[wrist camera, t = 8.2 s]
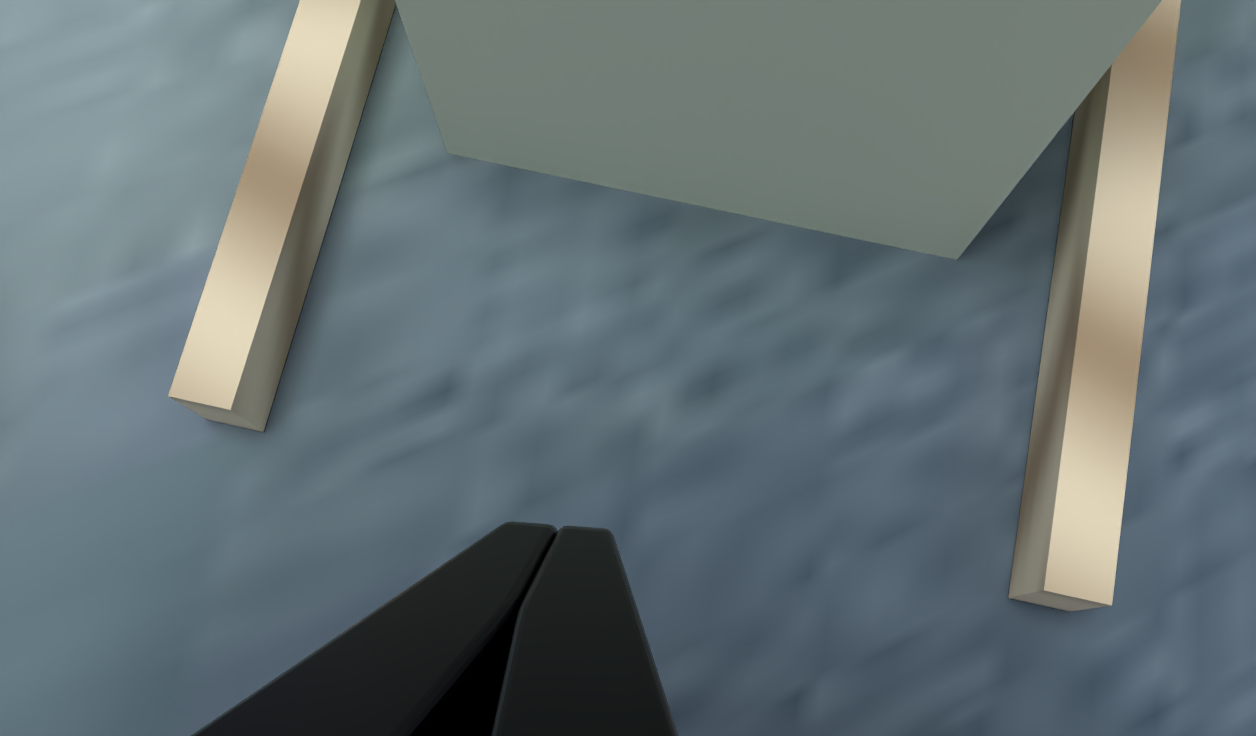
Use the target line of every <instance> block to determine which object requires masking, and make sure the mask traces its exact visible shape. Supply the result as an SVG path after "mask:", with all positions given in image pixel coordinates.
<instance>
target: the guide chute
mask: <svg viewBox="0 0 1256 736" xmlns="http://www.w3.org/2000/svg"><path fill="white" fill-rule="evenodd" d="M395 5H396V2H395V0H300V2H299V5H298V8H297V11H296V14H295V17H294V20H293V23H292V26H291V29H290V32H289V35H288V38H287V41H286V44H285V47H284V50H283V53H282V56H281V59H280V62H279V65H278V68H277V71H276V74H275V77H274V80H273V83H272V86H271V89H270V92H269V95H268V98H267V101H266V104H265V107H264V110H263V113H262V116H261V119H260V122H259V125H258V128H257V131H256V134H255V137H254V140H253V143H252V146H251V149H250V152H249V155H248V158H247V161H246V164H245V167H244V170H243V173H242V176H241V179H240V182H239V185H238V188H237V191H236V194H235V197H234V200H233V203H232V206H231V209H230V212H229V215H228V218H227V221H226V224H225V227H224V230H223V233H222V236H221V239H220V242H219V245H218V248H217V251H216V254H215V257H214V260H213V263H212V266H211V269H210V272H209V275H208V278H207V281H206V284H205V287H204V290H203V293H202V296H201V299H200V302H199V305H198V308H197V311H196V314H195V317H194V320H193V323H192V326H191V329H190V332H189V335H188V338H187V341H186V344H185V347H184V350H183V353H182V356H181V359H180V362H179V365H178V368H177V371H176V374H175V377H174V380H173V383H172V386H171V389H170V392H169V395H168V396H169V397H171V398H172V399H174V400H175V401H177V402H179V403H180V404H182V405H184V406H185V407H187V408H189V409H190V410H192V411H193V412H195V413H197V414H198V415H200V416H202V417H203V418H205V419H207V420H212V421H216V422H221V423H225V424H230V425H234V426H238V427H243V428H247V429H252V430H256V431H261V432H264V429H265V426H266V422H267V419H268V416H269V413H270V409H271V406H272V403H273V400H274V396H275V393H276V390H277V387H278V384H279V380H280V377H281V374H282V371H283V367H284V364H285V361H286V358H287V354H288V351H289V348H290V345H291V341H292V338H293V335H294V332H295V329H296V325H297V322H298V319H299V316H300V312H301V309H302V306H303V303H304V299H305V296H306V293H307V290H308V287H309V283H310V280H311V277H312V274H313V270H314V267H315V264H316V261H317V257H318V254H319V251H320V248H321V244H322V241H323V238H324V235H325V232H326V228H327V225H328V222H329V219H330V215H331V212H332V209H333V206H334V202H335V199H336V196H337V193H338V190H339V186H340V183H341V180H342V177H343V173H344V170H345V167H346V164H347V160H348V157H349V154H350V151H351V147H352V144H353V141H354V138H355V135H356V131H357V128H358V125H359V122H360V118H361V115H362V112H363V109H364V105H365V102H366V99H367V96H368V93H369V89H370V86H371V83H372V80H373V76H374V73H375V70H376V67H377V63H378V60H379V57H380V54H381V50H382V47H383V44H384V41H385V38H386V34H387V31H388V28H389V25H390V21H391V18H392V15H393V12H394V8H395ZM1180 5H1181V0H1162V1H1161V3H1160V4H1159V5H1158V6H1157V8H1156V9H1155V10H1154V11H1153V13H1152V14H1151V15H1150V16H1149V18H1148V19H1147V20H1146V22H1145V23H1144V24H1143V25H1142V27H1141V28H1140V29H1139V30H1138V32H1137V33H1136V34H1135V35H1134V37H1133V38H1132V39H1131V41H1130V42H1129V43H1128V44H1127V46H1126V47H1125V48H1124V49H1123V51H1122V52H1121V53H1120V54H1119V56H1118V57H1117V58H1116V59H1115V61H1114V62H1113V63H1112V65H1111V66H1110V67H1109V68H1108V70H1107V71H1106V72H1105V73H1104V75H1103V76H1102V77H1101V78H1100V80H1099V81H1098V82H1097V84H1096V85H1095V86H1094V87H1093V89H1092V90H1091V91H1090V92H1089V94H1088V95H1087V96H1086V97H1085V99H1084V100H1083V101H1082V103H1081V104H1080V105H1079V106H1078V108H1077V109H1076V110H1075V114H1074V121H1073V129H1072V136H1071V143H1070V151H1069V158H1068V165H1067V172H1066V180H1065V187H1064V194H1063V202H1062V209H1061V216H1060V224H1059V231H1058V238H1057V245H1056V253H1055V260H1054V267H1053V275H1052V282H1051V289H1050V297H1049V304H1048V311H1047V318H1046V326H1045V333H1044V340H1043V348H1042V355H1041V362H1040V370H1039V377H1038V384H1037V391H1036V399H1035V406H1034V413H1033V421H1032V428H1031V435H1030V443H1029V450H1028V457H1027V465H1026V472H1025V479H1024V486H1023V494H1022V501H1021V508H1020V516H1019V523H1018V530H1017V538H1016V545H1015V552H1014V559H1013V567H1012V574H1011V581H1010V589H1009V596H1008V598H1011V599H1016V600H1020V601H1025V602H1029V603H1034V604H1038V605H1043V606H1047V607H1052V608H1056V609H1061V610H1065V611H1070V612H1071V611H1078V610H1085V609H1091V608H1098V607H1105V606H1111V605H1112V600H1113V591H1114V583H1115V574H1116V565H1117V556H1118V548H1119V539H1120V530H1121V521H1122V513H1123V504H1124V495H1125V486H1126V478H1127V469H1128V460H1129V451H1130V443H1131V434H1132V425H1133V416H1134V408H1135V399H1136V390H1137V381H1138V373H1139V364H1140V355H1141V346H1142V338H1143V329H1144V320H1145V311H1146V303H1147V294H1148V285H1149V276H1150V268H1151V259H1152V250H1153V241H1154V233H1155V224H1156V215H1157V207H1158V198H1159V189H1160V180H1161V172H1162V163H1163V154H1164V145H1165V137H1166V128H1167V119H1168V110H1169V102H1170V93H1171V84H1172V75H1173V67H1174V58H1175V49H1176V40H1177V32H1178V23H1179V14H1180Z"/></svg>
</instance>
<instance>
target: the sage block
mask: <svg viewBox="0 0 1256 736" xmlns="http://www.w3.org/2000/svg"><path fill="white" fill-rule="evenodd" d="M1161 1H1162V0H395V2H396V5H397V8H398V11H399V14H400V17H401V19H402V22H403V25H404V28H405V31H406V34H407V37H408V40H409V43H410V46H411V48H412V51H413V54H414V57H415V60H416V63H417V66H418V69H419V72H420V75H421V77H422V80H423V83H424V86H425V89H426V92H427V95H428V98H429V101H430V104H431V106H432V109H433V112H434V115H435V118H436V121H437V124H438V127H439V130H440V133H441V136H442V138H443V141H444V144H445V147H446V150H447V153H448V154H453V155H458V156H462V157H467V158H472V159H477V160H481V161H486V162H491V163H496V164H501V165H505V166H510V167H515V168H520V169H524V170H529V171H534V172H539V173H544V174H548V175H553V176H558V177H563V178H568V179H572V180H577V181H582V182H587V183H591V184H596V185H601V186H606V187H611V188H615V189H620V190H625V191H630V192H634V193H639V194H644V195H649V196H654V197H658V198H663V199H668V200H673V201H677V202H682V203H687V204H692V205H697V206H701V207H706V208H711V209H716V210H720V211H725V212H730V213H735V214H740V215H744V216H749V217H754V218H759V219H763V220H768V221H773V222H778V223H783V224H787V225H792V226H797V227H802V228H806V229H811V230H816V231H821V232H826V233H830V234H835V235H840V236H845V237H850V238H854V239H859V240H864V241H869V242H873V243H878V244H883V245H888V246H893V247H897V248H902V249H907V250H912V251H916V252H921V253H926V254H931V255H936V256H940V257H945V258H950V259H955V260H957V259H958V258H959V257H960V256H961V254H962V253H963V252H964V251H965V249H966V248H967V247H968V246H969V244H970V243H971V242H972V240H973V239H974V238H975V237H976V235H977V234H978V233H979V232H980V230H981V229H982V228H983V227H984V225H985V224H986V223H987V222H988V220H989V219H990V218H991V216H992V215H993V214H994V213H995V211H996V210H997V209H998V208H999V206H1000V205H1001V204H1002V203H1003V201H1004V200H1005V199H1006V197H1007V196H1008V195H1009V194H1010V192H1011V191H1012V190H1013V189H1014V187H1015V186H1016V185H1017V184H1018V182H1019V181H1020V180H1021V178H1022V177H1023V176H1024V175H1025V173H1026V172H1027V171H1028V170H1029V168H1030V167H1031V166H1032V165H1033V163H1034V162H1035V161H1036V159H1037V158H1038V157H1039V156H1040V154H1041V153H1042V152H1043V151H1044V149H1045V148H1046V147H1047V146H1048V144H1049V143H1050V142H1051V140H1052V139H1053V138H1054V137H1055V135H1056V134H1057V133H1058V132H1059V130H1060V129H1061V128H1062V127H1063V125H1064V124H1065V123H1066V122H1067V120H1068V119H1069V118H1070V116H1071V115H1072V114H1073V113H1074V111H1075V110H1076V109H1077V108H1078V106H1079V105H1080V104H1081V103H1082V101H1083V100H1084V99H1085V97H1086V96H1087V95H1088V94H1089V92H1090V91H1091V90H1092V89H1093V87H1094V86H1095V85H1096V84H1097V82H1098V81H1099V80H1100V78H1101V77H1102V76H1103V75H1104V73H1105V72H1106V71H1107V70H1108V68H1109V67H1110V66H1111V65H1112V63H1113V62H1114V61H1115V59H1116V58H1117V57H1118V56H1119V54H1120V53H1121V52H1122V51H1123V49H1124V48H1125V47H1126V46H1127V44H1128V43H1129V42H1130V41H1131V39H1132V38H1133V37H1134V35H1135V34H1136V33H1137V32H1138V30H1139V29H1140V28H1141V27H1142V25H1143V24H1144V23H1145V22H1146V20H1147V19H1148V18H1149V16H1150V15H1151V14H1152V13H1153V11H1154V10H1155V9H1156V8H1157V6H1158V5H1159V4H1160V3H1161Z"/></svg>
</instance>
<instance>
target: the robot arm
mask: <svg viewBox="0 0 1256 736" xmlns="http://www.w3.org/2000/svg"><path fill="white" fill-rule="evenodd" d="M191 736H678V733H677V730H676V727H675V724H674V721H673V718H672V715H671V712H670V709H669V706H668V702H667V699H666V696H665V693H664V690H663V687H662V684H661V681H660V678H659V675H658V671H657V668H656V665H655V662H654V659H653V656H652V653H651V650H650V647H649V644H648V641H647V637H646V634H645V631H644V628H643V625H642V622H641V619H640V616H639V613H638V610H637V606H636V603H635V600H634V597H633V594H632V591H631V588H630V585H629V582H628V579H627V575H626V572H625V569H624V566H623V563H622V560H621V557H620V554H619V551H618V548H617V544H616V541H615V538H614V536H613V534H612V533H611V531H609V530H608V529H604V528H591V527H577V526H564V527H562V528H560V530H559V531H557V529H556V528H555V527H554V526H553V525H549V524H537V523H525V522H506V523H504V524H502V525H500V526H499V527H497V528H496V529H494V530H493V531H492V532H490V533H489V534H487V535H486V536H484V537H483V538H481V539H480V540H478V541H477V542H475V543H474V544H472V545H471V546H469V547H468V548H467V549H465V550H464V551H462V552H461V553H459V554H458V555H456V556H455V557H453V558H452V559H450V560H449V561H447V562H446V563H444V564H443V565H441V566H440V567H439V568H437V569H436V570H434V571H433V572H431V573H430V574H428V575H427V576H425V577H424V578H422V579H421V580H419V581H418V582H416V583H415V584H414V585H412V586H411V587H409V588H408V589H406V590H405V591H403V592H402V593H400V594H399V595H397V596H396V597H394V598H393V599H391V600H390V601H388V602H387V603H386V604H384V605H383V606H381V607H380V608H378V609H377V610H375V611H374V612H372V613H371V614H369V615H368V616H366V617H365V618H363V619H362V620H361V621H359V622H358V623H356V624H355V625H353V626H352V627H350V628H349V629H347V630H346V631H344V632H343V633H341V634H340V635H338V636H337V637H335V638H334V639H333V640H331V641H330V642H328V643H327V644H325V645H324V646H322V647H321V648H319V649H318V650H316V651H315V652H313V653H312V654H310V655H309V656H307V657H306V658H305V659H303V660H302V661H300V662H299V663H297V664H296V665H294V666H293V667H291V668H290V669H288V670H287V671H285V672H284V673H282V674H281V675H280V676H278V677H277V678H275V679H274V680H272V681H271V682H269V683H268V684H266V685H265V686H263V687H262V688H260V689H259V690H257V691H256V692H254V693H253V694H252V695H250V696H249V697H247V698H246V699H244V700H243V701H241V702H240V703H238V704H237V705H235V706H234V707H232V708H231V709H229V710H228V711H227V712H225V713H224V714H222V715H221V716H219V717H218V718H216V719H215V720H213V721H212V722H210V723H209V724H207V725H206V726H204V727H203V728H201V729H200V730H199V731H197V732H196V733H194V734H193V735H191Z"/></svg>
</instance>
